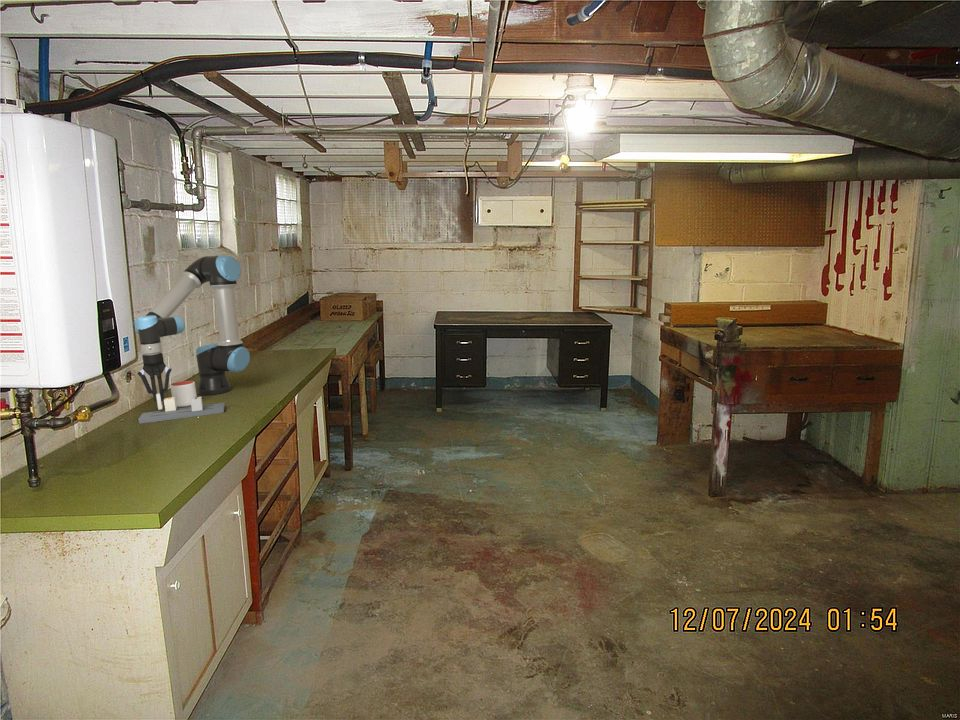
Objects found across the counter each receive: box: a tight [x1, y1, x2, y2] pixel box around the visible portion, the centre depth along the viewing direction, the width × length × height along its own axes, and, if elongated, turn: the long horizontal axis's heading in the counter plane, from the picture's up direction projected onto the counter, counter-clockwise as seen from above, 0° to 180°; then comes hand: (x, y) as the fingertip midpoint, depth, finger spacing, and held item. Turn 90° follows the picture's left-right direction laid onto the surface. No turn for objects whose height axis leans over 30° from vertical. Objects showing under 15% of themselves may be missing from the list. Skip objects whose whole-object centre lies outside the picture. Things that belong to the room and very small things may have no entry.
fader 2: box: [190, 396, 204, 412], centre depth 266 cm, size 4×4×5 cm
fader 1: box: [163, 396, 178, 412], centre depth 268 cm, size 4×4×5 cm
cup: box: [169, 380, 198, 408], centre depth 285 cm, size 10×10×10 cm
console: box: [138, 402, 226, 425], centre depth 268 cm, size 10×32×2 cm, turn 109°
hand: (160, 408), depth 267 cm, fingers closed
